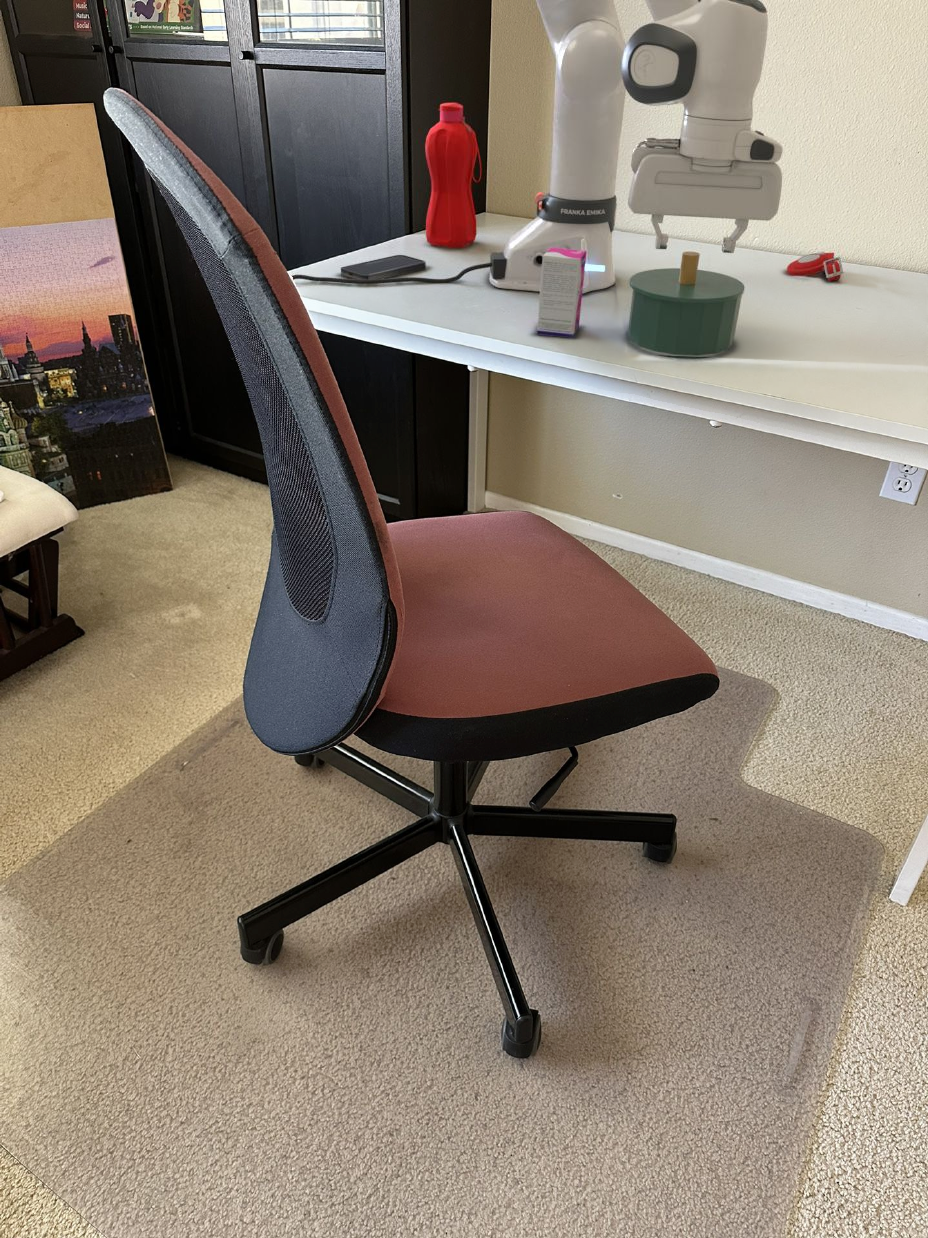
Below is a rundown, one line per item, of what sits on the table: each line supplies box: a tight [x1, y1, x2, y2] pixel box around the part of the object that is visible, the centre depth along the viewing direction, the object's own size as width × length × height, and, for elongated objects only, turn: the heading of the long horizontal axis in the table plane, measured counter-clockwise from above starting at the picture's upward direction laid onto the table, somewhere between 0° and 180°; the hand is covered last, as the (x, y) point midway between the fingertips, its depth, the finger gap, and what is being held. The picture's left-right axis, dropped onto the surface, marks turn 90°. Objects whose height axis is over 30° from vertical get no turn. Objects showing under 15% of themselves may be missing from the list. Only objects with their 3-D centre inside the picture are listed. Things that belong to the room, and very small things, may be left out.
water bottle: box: [424, 102, 482, 249], centre depth 176 cm, size 9×11×25 cm
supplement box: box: [536, 248, 587, 339], centre depth 135 cm, size 6×6×12 cm
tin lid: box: [629, 251, 745, 303], centre depth 129 cm, size 16×16×5 cm
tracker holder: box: [786, 251, 844, 282], centre depth 164 cm, size 12×4×10 cm
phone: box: [340, 254, 427, 280], centre depth 165 cm, size 8×1×15 cm
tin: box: [627, 289, 743, 360], centre depth 132 cm, size 15×15×8 cm
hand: (693, 250), depth 127 cm, fingers open, 8 cm apart
